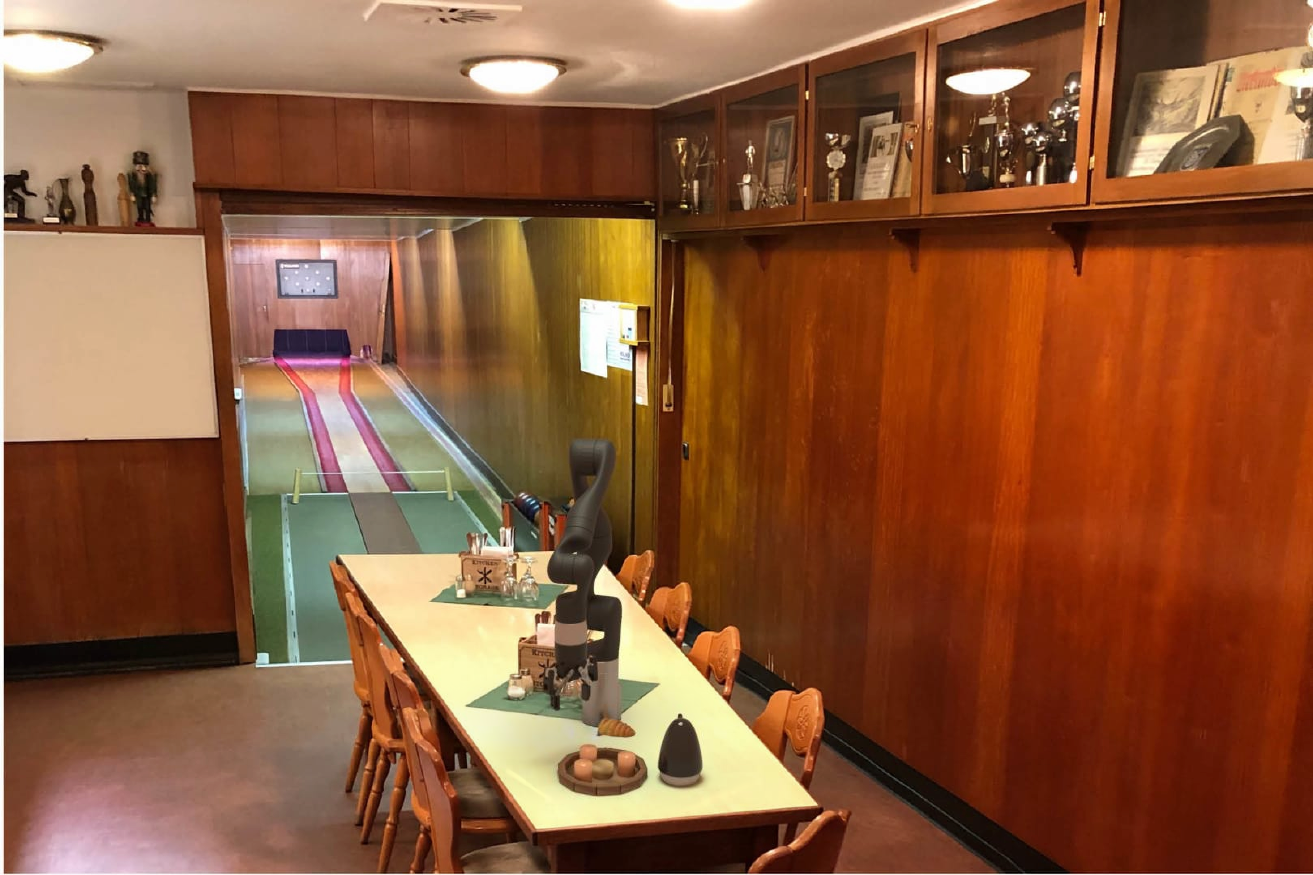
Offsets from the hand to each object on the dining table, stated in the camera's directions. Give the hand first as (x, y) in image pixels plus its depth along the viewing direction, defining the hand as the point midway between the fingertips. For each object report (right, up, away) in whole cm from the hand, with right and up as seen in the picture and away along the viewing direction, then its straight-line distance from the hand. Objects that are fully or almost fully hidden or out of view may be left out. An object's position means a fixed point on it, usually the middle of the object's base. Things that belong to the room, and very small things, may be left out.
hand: (570, 704), depth 240 cm
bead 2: (+3, -15, -8) cm, 18 cm away
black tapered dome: (+25, -17, -5) cm, 31 cm away
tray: (+8, -16, -4) cm, 18 cm away
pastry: (+10, -13, +20) cm, 26 cm away
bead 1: (+4, -14, 0) cm, 15 cm away
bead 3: (+13, -15, -3) cm, 20 cm away
